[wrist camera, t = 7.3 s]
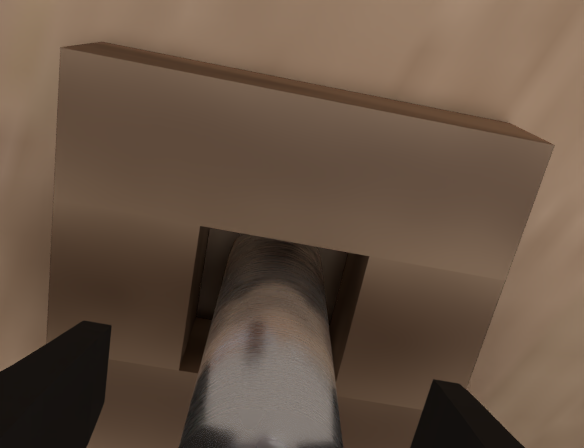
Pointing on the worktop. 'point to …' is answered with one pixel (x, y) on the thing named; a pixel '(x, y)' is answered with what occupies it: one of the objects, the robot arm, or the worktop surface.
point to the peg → (267, 355)
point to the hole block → (276, 227)
